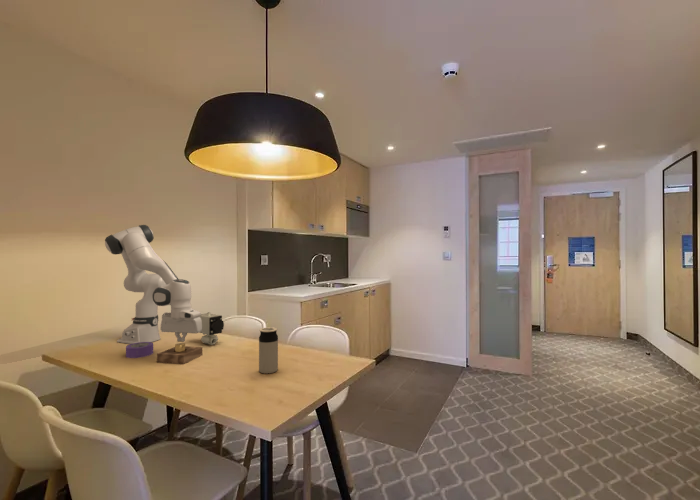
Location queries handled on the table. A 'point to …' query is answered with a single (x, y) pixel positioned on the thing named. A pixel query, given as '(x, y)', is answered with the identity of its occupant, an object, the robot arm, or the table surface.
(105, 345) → the table surface
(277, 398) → the table surface
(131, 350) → the tape roll
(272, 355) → the travel mug
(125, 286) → the robot arm
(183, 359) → the block
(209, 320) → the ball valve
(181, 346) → the cylinder
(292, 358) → the table surface
